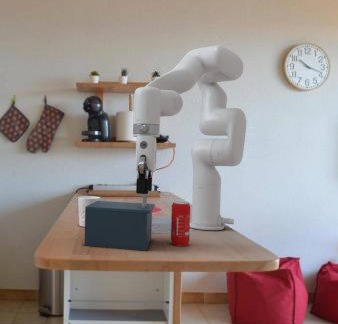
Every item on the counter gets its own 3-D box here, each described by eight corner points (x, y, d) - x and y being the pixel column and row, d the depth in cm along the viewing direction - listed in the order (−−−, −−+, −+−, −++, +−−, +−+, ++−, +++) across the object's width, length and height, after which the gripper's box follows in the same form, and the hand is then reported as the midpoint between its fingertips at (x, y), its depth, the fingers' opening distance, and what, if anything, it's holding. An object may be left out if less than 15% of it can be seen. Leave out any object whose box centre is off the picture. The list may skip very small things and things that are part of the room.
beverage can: (178, 247, 108) (180, 204, 108) (167, 243, 113) (168, 201, 113) (193, 245, 111) (194, 203, 110) (180, 241, 115) (182, 201, 115)
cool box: (151, 239, 117) (152, 206, 117) (145, 250, 103) (146, 213, 103) (96, 235, 121) (97, 203, 121) (84, 245, 108) (85, 209, 107)
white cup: (97, 228, 133) (98, 199, 132) (75, 226, 134) (75, 198, 134) (101, 224, 140) (102, 196, 140) (80, 222, 142) (80, 195, 142)
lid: (154, 206, 116) (155, 187, 116) (149, 213, 103) (150, 192, 103) (97, 203, 121) (97, 185, 121) (85, 209, 107) (85, 189, 107)
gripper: (157, 129, 100) (154, 195, 101) (162, 133, 117) (160, 190, 117) (128, 129, 102) (126, 194, 102) (137, 133, 119) (135, 189, 119)
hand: (144, 192), depth 110 cm, fingers open, 9 cm apart
